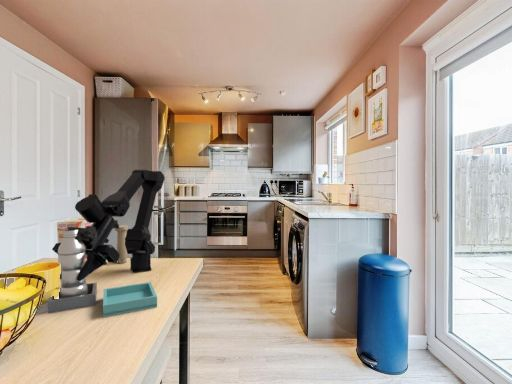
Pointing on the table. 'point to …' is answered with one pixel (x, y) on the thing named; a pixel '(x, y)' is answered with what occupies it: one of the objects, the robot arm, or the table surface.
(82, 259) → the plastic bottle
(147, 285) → the tray
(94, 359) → the table surface
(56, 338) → the table surface
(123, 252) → the beige column
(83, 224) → the coffeecake box
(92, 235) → the robot arm
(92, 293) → the open frame
